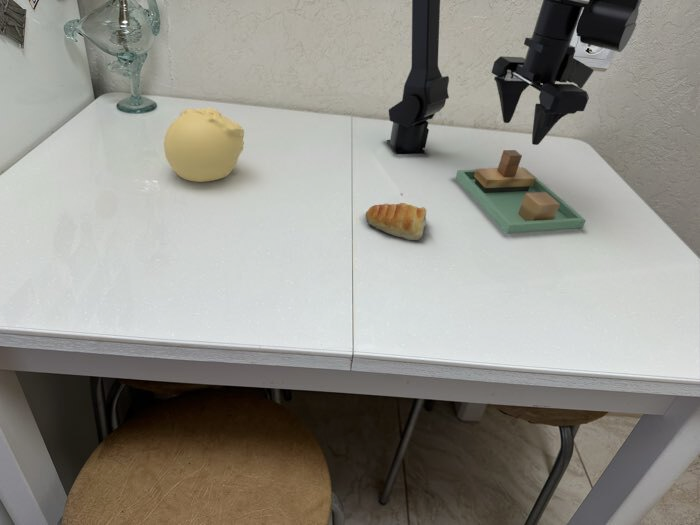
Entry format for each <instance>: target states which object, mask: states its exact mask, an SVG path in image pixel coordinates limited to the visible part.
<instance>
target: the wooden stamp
mask: <svg viewBox="0 0 700 525" xmlns="http://www.w3.org/2000/svg"><path fill="white" fill-rule="evenodd" d="M522 157H523V155H522V154H521V153H520V152H518V151H517V150H516V149H503V151H502V153H501V158H500V160H499V162H498V166H497V167H486V168H485V167H483V168H475V169H474V170H475V174H474V177H475V178H476V180H475V184H476V185H477V186H478V187H479V188H480V189H481V190H482V191H483V192H484V193H497V192H519V191H528V190H529V188H530V186H533V185H534V182H535V180H536V178H537V177H536V176H535V175H534V174H533V173H531V172H530V171H529V170H528V169H527V168H525V167H524V166H520V163H521V160H522ZM526 169H527V170H528V171H529V172H530V173H531V174H530V173H529V172H528V171H527V170H526ZM533 175H534V176H535V177H536V178H535V177H534V176H533Z"/></svg>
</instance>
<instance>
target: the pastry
mask: <svg viewBox="0 0 700 525" xmlns="http://www.w3.org/2000/svg"><path fill="white" fill-rule="evenodd" d="M365 218H366V221H367V222H368V223H369V225H370V226H372V227H373V228H375V229H377V230H380V231H382V232H384V233H386V234H388V235H391V236H394V237H398V238H403V239H405V240H407V241H418V240H419V241H420V239H421V238H422V236H423V234H424V228H425V227H426V225H427V209H426V208H425V207H424V206H423V207H418V206H414V205H412V204H408V203H405V202H399V203H392V204H390V203H383V204H374V205H372V206H370V207H369V209H367V211H366V212H365Z"/></svg>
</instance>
